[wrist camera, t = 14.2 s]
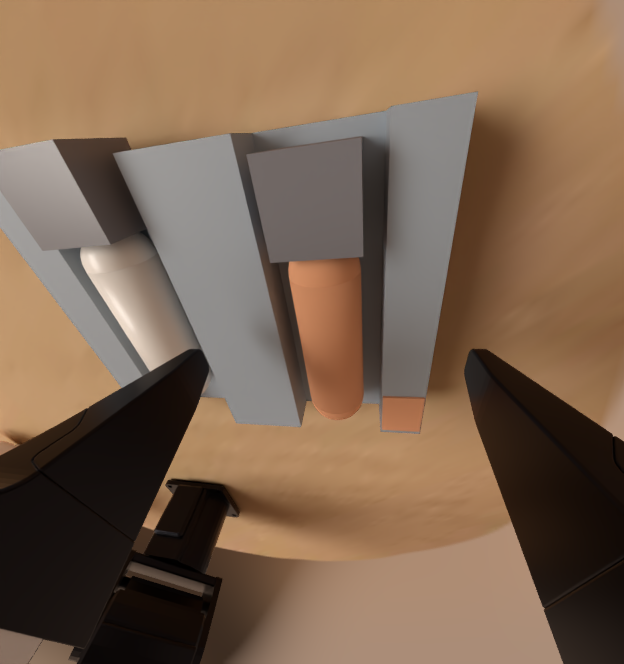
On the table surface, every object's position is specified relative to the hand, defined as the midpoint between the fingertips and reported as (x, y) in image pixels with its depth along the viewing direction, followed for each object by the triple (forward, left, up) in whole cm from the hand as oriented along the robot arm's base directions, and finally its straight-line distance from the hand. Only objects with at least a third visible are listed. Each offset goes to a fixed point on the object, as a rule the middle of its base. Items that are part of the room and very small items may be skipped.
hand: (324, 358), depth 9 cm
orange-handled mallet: (0, 0, -4) cm, 4 cm away
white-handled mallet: (+1, +8, -4) cm, 9 cm away
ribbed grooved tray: (0, +4, -5) cm, 6 cm away
